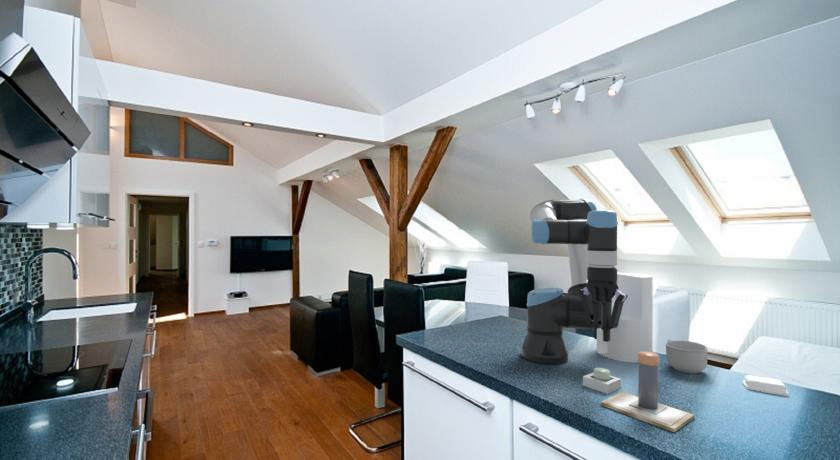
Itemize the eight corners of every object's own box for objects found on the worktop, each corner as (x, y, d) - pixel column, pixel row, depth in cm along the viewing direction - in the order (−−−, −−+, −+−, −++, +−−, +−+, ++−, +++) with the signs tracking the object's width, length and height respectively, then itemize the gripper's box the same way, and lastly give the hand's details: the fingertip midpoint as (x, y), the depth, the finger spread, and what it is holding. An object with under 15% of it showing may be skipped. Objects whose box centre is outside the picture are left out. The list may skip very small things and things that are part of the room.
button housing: (582, 385, 106) (582, 376, 106) (596, 380, 110) (596, 371, 110) (607, 394, 101) (607, 384, 101) (620, 387, 105) (621, 378, 105)
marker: (634, 404, 92) (634, 353, 92) (642, 400, 94) (643, 350, 94) (653, 411, 88) (653, 358, 88) (661, 406, 91) (662, 355, 91)
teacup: (715, 377, 113) (715, 350, 113) (674, 374, 115) (674, 348, 115) (691, 362, 127) (691, 338, 127) (655, 360, 129) (655, 336, 129)
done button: (590, 380, 106) (590, 369, 106) (598, 377, 108) (598, 366, 108) (605, 385, 103) (605, 373, 103) (612, 381, 105) (612, 370, 105)
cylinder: (628, 346, 145) (628, 272, 145) (665, 361, 128) (665, 277, 128) (586, 348, 142) (586, 272, 142) (618, 363, 125) (618, 277, 125)
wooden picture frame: (600, 405, 94) (600, 400, 94) (623, 394, 100) (623, 390, 100) (674, 432, 81) (674, 427, 81) (694, 418, 87) (694, 413, 87)
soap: (745, 390, 105) (745, 379, 105) (741, 382, 110) (741, 372, 110) (790, 398, 100) (790, 386, 100) (783, 389, 106) (783, 378, 106)
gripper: (633, 267, 103) (633, 356, 102) (587, 264, 113) (587, 344, 113) (619, 268, 98) (619, 361, 98) (572, 265, 109) (572, 348, 108)
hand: (602, 352), depth 105 cm, fingers closed
